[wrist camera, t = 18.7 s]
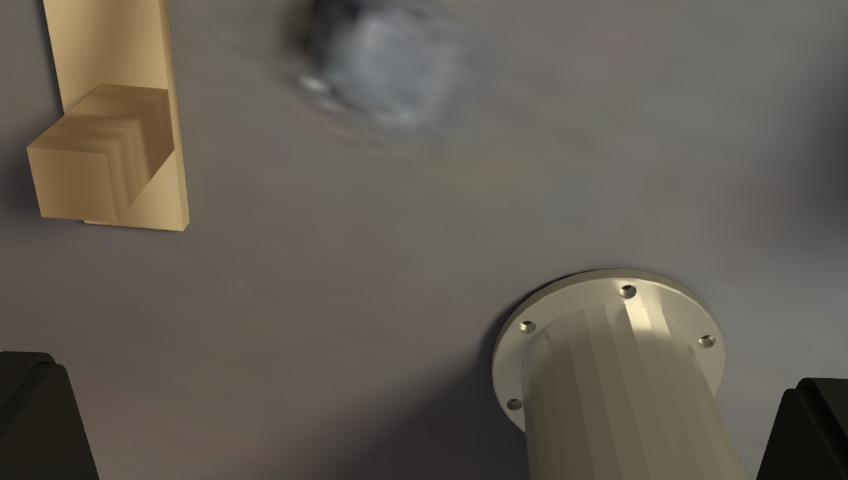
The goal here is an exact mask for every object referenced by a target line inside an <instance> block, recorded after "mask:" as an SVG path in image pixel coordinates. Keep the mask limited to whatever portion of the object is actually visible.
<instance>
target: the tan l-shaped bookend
mask: <svg viewBox="0 0 848 480" xmlns="http://www.w3.org/2000/svg"><path fill="white" fill-rule="evenodd" d="M43 2H44V7H45V13H46V18H47V23H48V29H49V34H50V39H51V45H52V50H53V56H54V61H55V66H56V72H57V77H58V82H59V88H60V93H61V99H62V104H63V109H64V116H63V117H62V118H61V119H59V120H58V121H57V122H56V123H55V124H53V125H52V126H51V127H50V128H49V129H48V130H46V131H45V132H44V133H43V134H42V135H40V136H39V137H38V138H37V139H36V140H34V141H33V142H32V143H31V144H30V145H29V146H27V147H26V148H27V153H28V157H29V162H30V167H31V171H32V176H33V180H34V185H35V189H36V194H37V198H38V203H39V208H40V212H41V217H50V218H62V219H74V220H84V222H85V223H91V224H103V225H115V226H127V227H139V228H152V229H164V230H176V231H184V229H185V228H186V226H187V225H188V223H189V212H188V202H187V193H186V183H185V173H184V163H183V154H182V144H181V134H180V125H179V115H178V105H177V96H176V86H175V76H174V67H173V57H172V47H171V38H170V28H169V18H168V8H167V0H43Z"/></svg>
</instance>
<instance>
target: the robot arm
mask: <svg viewBox="0 0 848 480" xmlns="http://www.w3.org/2000/svg"><path fill="white" fill-rule="evenodd" d="M725 366H726V360H725V346H724V343H723V339H722V336H721V333H720V330H719V328H718V326H717V324H716V322H715V320H714V318H713V316H712V314H711V313H710V312H709V310H708V309H707V308H706V306H705V305H704V304H703V303H702V301H701V300H700V299H699V298H697V297H696V296H695V295H694V294H692V293H691V292H690V291H689V290H687V289H686V288H685V287H683V286H681V285H679V284H677V283H675V282H673V281H671V280H669V279H667V278H665V277H661V276H658V275H654V274H651V273H648V272H643V271H635V270H627V269H609V270H596V271H590V272H585V273H580V274H575V275H573V276H570V277H567V278H564V279H562V280H559V281H556V282H554V283H552V284H550V285H548V286H546V287H545V288H543V289H541V290H539V291H538V292H536V293H534V294H533V295H532V296H530V297H529V298H528V299H527V300H526V301H524V302H523V303H522V304H521V305H519V306H518V307H517V308H516V310H515V311H514V312H513V313H512V314H511V316H510V317H509V318H508V319H507V320H506V322H505V323H504V325H503V327H502V329H501V331H500V333H499V335H498V336H497V339H496V342H495V346H494V350H493V353H492V378H493V387H494V391H495V394H496V397H497V399H498V402H499V404H500V406H501V407H502V409H503V411H504V412H505V414H506V415H507V417H508V418H509V419H510V420H511V421H512V422H513V423H514V424H515V425H516V426H517V427H518V428H519V429H520V430H521V431H523V432H525V433H526V443H527V453H528V463H529V474H530V480H748V479H747V477H746V474H745V472H744V469H743V467H742V465H741V462H740V460H739V457H738V455H737V452H736V450H735V448H734V445H733V443H732V440H731V438H730V435H729V433H728V430H727V428H726V426H725V423H724V421H723V418H722V416H721V413H720V411H719V409H718V406H717V404H716V401H715V399H714V397H715V395H716V393H717V391H718V389H719V387H720V385H721V383H722V379H723V375H724V370H725ZM0 480H99V476H98V473H97V470H96V466H95V463H94V460H93V456H92V453H91V450H90V446H89V443H88V440H87V436H86V433H85V430H84V426H83V423H82V420H81V417H80V413H79V410H78V407H77V403H76V400H75V397H74V393H73V390H72V387H71V383H70V380H69V377H68V373H67V371H66V369H65V367H64V366H63V365H60V364H56V363H55V361H54V359H53V357H52V356H51V355H50V354H48V353H43V352H13V351H3V352H0ZM756 480H848V379H835V378H803V379H802V380H801V381H800V382H799V383H798V385H797V387H796V389H787V390H786V391H785V392H784V394H783V396H782V399H781V402H780V405H779V409H778V412H777V415H776V418H775V421H774V425H773V428H772V431H771V434H770V437H769V440H768V444H767V447H766V450H765V453H764V456H763V459H762V463H761V466H760V469H759V472H758V475H757V478H756Z"/></svg>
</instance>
